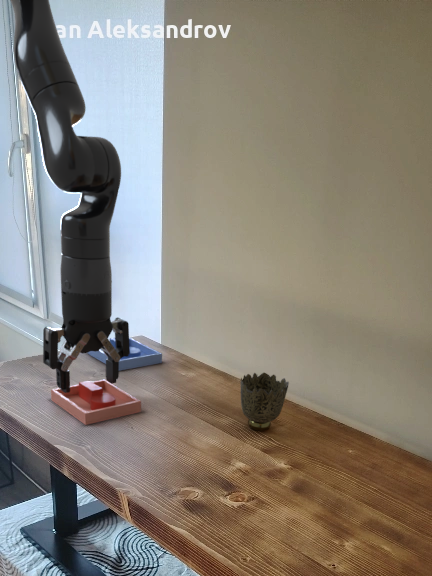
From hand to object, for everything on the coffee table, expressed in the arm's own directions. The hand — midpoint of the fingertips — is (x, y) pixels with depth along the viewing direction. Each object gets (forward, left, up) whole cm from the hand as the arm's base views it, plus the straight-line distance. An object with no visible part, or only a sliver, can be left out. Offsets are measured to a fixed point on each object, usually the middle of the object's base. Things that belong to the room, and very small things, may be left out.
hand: (88, 386), depth 103 cm
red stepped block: (+2, 0, -2) cm, 3 cm away
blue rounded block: (-16, +17, -2) cm, 23 cm away
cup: (+22, +18, -3) cm, 29 cm away
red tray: (+2, 0, -3) cm, 3 cm away
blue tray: (-16, +17, -3) cm, 23 cm away
